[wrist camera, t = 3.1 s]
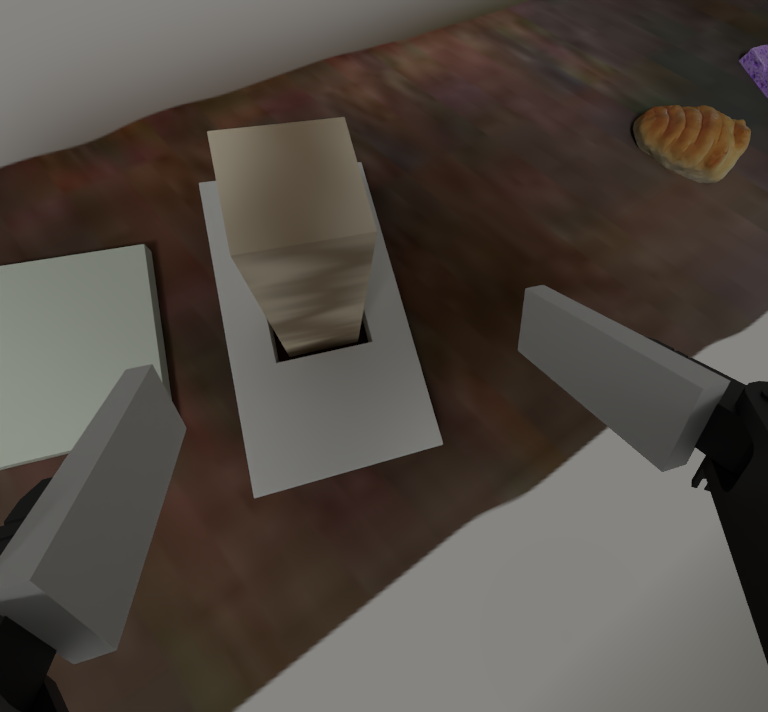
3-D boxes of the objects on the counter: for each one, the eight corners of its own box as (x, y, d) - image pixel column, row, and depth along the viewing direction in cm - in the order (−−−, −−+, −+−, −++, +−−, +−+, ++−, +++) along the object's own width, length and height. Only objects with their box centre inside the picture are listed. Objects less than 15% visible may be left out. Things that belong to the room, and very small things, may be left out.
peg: (289, 356, 25) (230, 255, 12) (276, 293, 26) (207, 131, 13) (357, 342, 26) (377, 231, 12) (342, 280, 27) (344, 116, 13)
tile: (-60, 484, 21) (-79, 486, 20) (-59, 284, 23) (-77, 277, 22) (175, 427, 23) (168, 426, 22) (151, 251, 26) (144, 244, 25)
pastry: (623, 160, 34) (658, 125, 30) (630, 109, 35) (663, 70, 32) (712, 192, 34) (757, 162, 30) (714, 140, 36) (757, 105, 32)
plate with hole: (261, 493, 23) (254, 498, 21) (208, 201, 27) (198, 182, 25) (435, 444, 25) (443, 444, 23) (359, 180, 29) (361, 161, 27)
